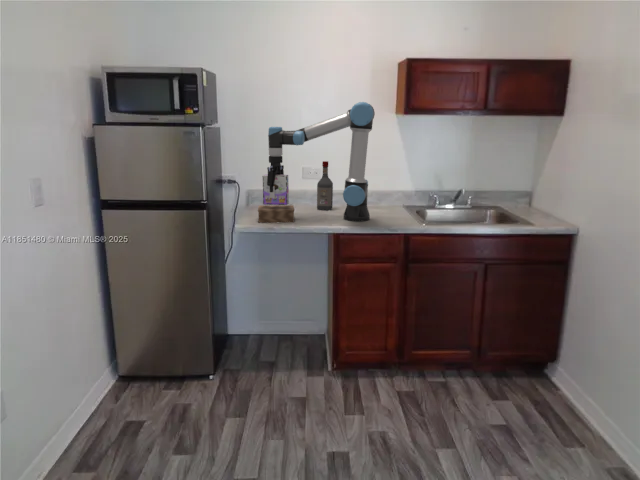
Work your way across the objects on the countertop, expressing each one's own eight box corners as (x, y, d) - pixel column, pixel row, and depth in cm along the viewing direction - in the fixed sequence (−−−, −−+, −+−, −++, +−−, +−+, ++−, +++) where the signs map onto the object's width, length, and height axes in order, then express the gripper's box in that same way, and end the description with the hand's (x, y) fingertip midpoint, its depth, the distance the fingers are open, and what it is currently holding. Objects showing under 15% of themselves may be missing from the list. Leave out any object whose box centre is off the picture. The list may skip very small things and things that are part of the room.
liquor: (330, 210, 302) (331, 162, 295) (316, 210, 304) (316, 162, 296) (332, 208, 311) (333, 161, 304) (318, 207, 313) (319, 160, 305)
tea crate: (293, 217, 282) (293, 205, 280) (294, 223, 269) (294, 209, 267) (258, 218, 280) (258, 205, 278) (258, 223, 267) (257, 210, 265)
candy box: (288, 203, 274) (288, 174, 270) (287, 205, 269) (287, 175, 264) (265, 202, 276) (264, 173, 271) (262, 204, 270) (262, 175, 266)
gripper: (279, 154, 276) (279, 193, 281) (259, 156, 258) (260, 198, 264) (290, 154, 272) (290, 194, 278) (271, 157, 255) (272, 200, 261)
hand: (276, 196), depth 271 cm, fingers closed on candy box, 7 cm apart
